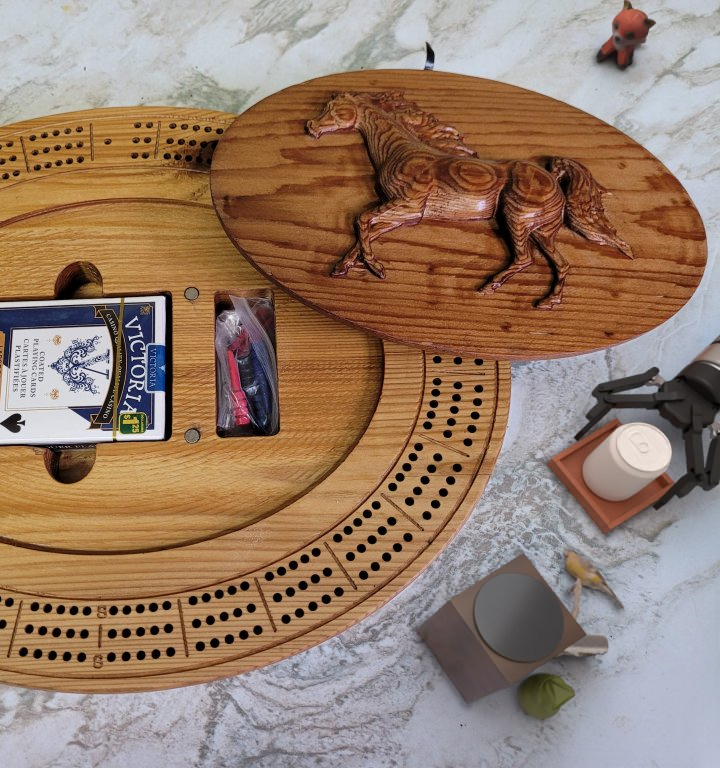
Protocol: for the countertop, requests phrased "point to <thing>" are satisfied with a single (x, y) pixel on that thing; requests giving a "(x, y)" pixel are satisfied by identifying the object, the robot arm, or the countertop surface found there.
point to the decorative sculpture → (584, 576)
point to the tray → (597, 508)
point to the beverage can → (627, 461)
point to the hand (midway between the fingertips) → (617, 470)
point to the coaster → (518, 617)
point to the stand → (468, 650)
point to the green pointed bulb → (544, 694)
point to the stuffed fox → (626, 34)
